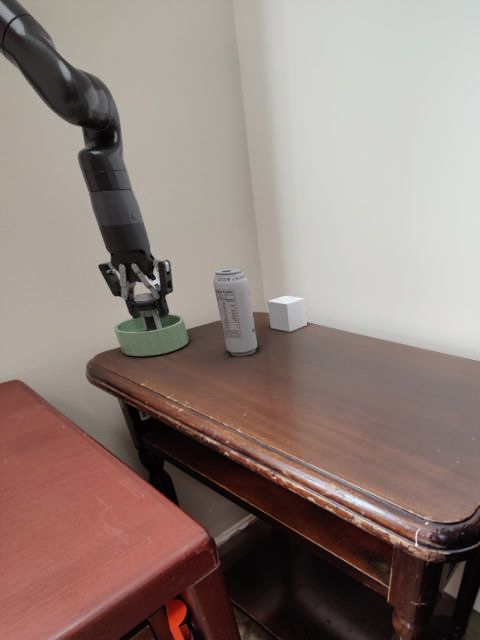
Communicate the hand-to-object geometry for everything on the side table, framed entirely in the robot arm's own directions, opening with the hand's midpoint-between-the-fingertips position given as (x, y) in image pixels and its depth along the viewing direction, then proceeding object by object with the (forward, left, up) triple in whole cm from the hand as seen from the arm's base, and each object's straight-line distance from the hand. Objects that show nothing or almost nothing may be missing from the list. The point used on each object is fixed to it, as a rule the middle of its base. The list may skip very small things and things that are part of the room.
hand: (150, 317), depth 80 cm
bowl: (-1, 0, -6) cm, 6 cm away
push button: (-1, 0, -6) cm, 6 cm away
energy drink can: (+19, -2, -6) cm, 20 cm away
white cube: (+24, +15, -6) cm, 29 cm away
